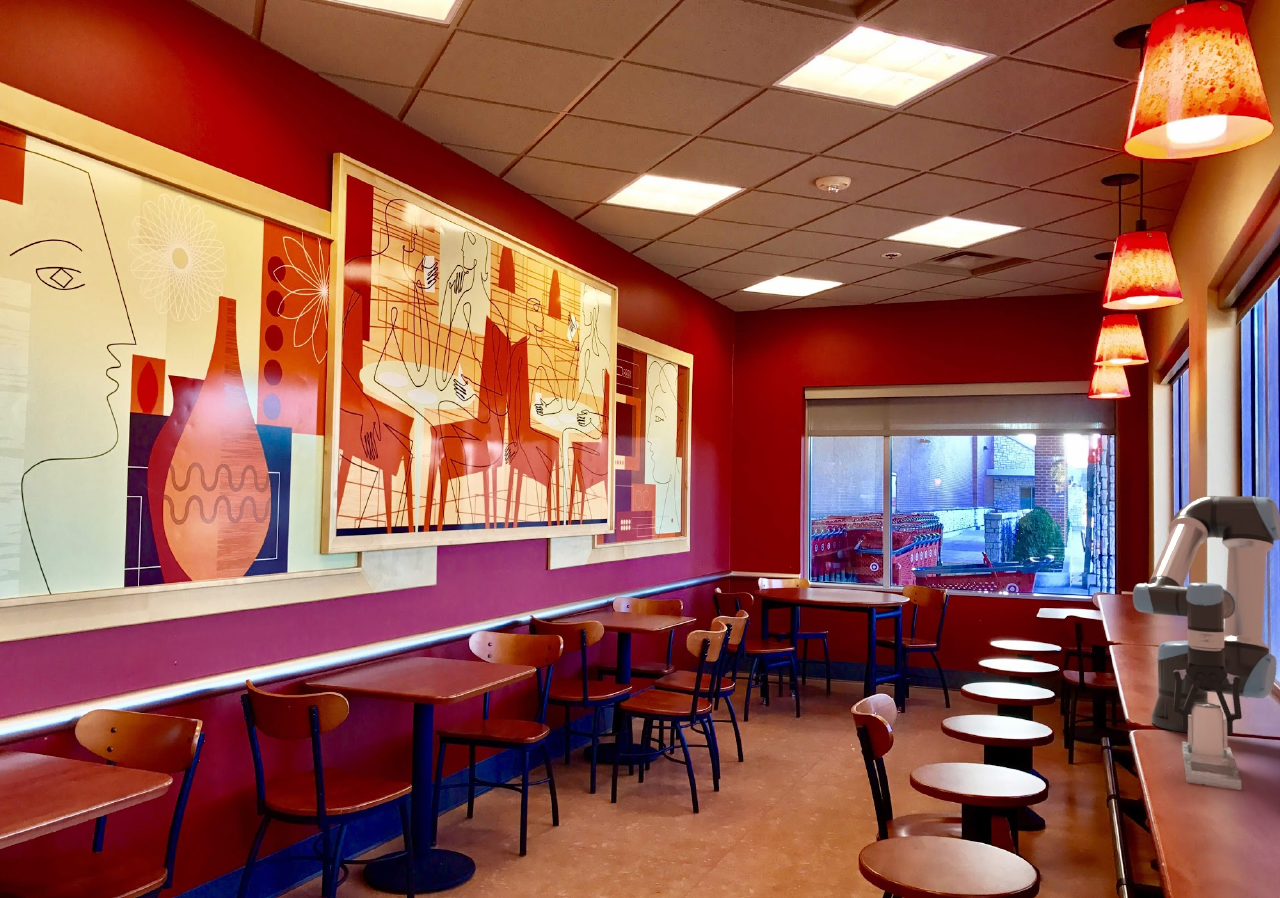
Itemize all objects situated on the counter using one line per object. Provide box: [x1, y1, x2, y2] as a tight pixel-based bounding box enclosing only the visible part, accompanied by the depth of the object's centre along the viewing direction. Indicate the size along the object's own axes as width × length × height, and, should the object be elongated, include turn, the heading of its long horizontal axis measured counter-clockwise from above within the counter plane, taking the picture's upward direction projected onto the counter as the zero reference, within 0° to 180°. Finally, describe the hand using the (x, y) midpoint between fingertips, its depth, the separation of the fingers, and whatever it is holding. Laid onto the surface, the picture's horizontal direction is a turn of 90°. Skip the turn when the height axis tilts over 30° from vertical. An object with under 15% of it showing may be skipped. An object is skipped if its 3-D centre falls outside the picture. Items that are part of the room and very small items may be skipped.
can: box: [1191, 702, 1224, 757], centre depth 216 cm, size 6×6×12 cm
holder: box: [1181, 741, 1242, 791], centre depth 209 cm, size 30×10×2 cm, turn 151°
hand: (1207, 745), depth 216 cm, fingers closed on can, 6 cm apart
